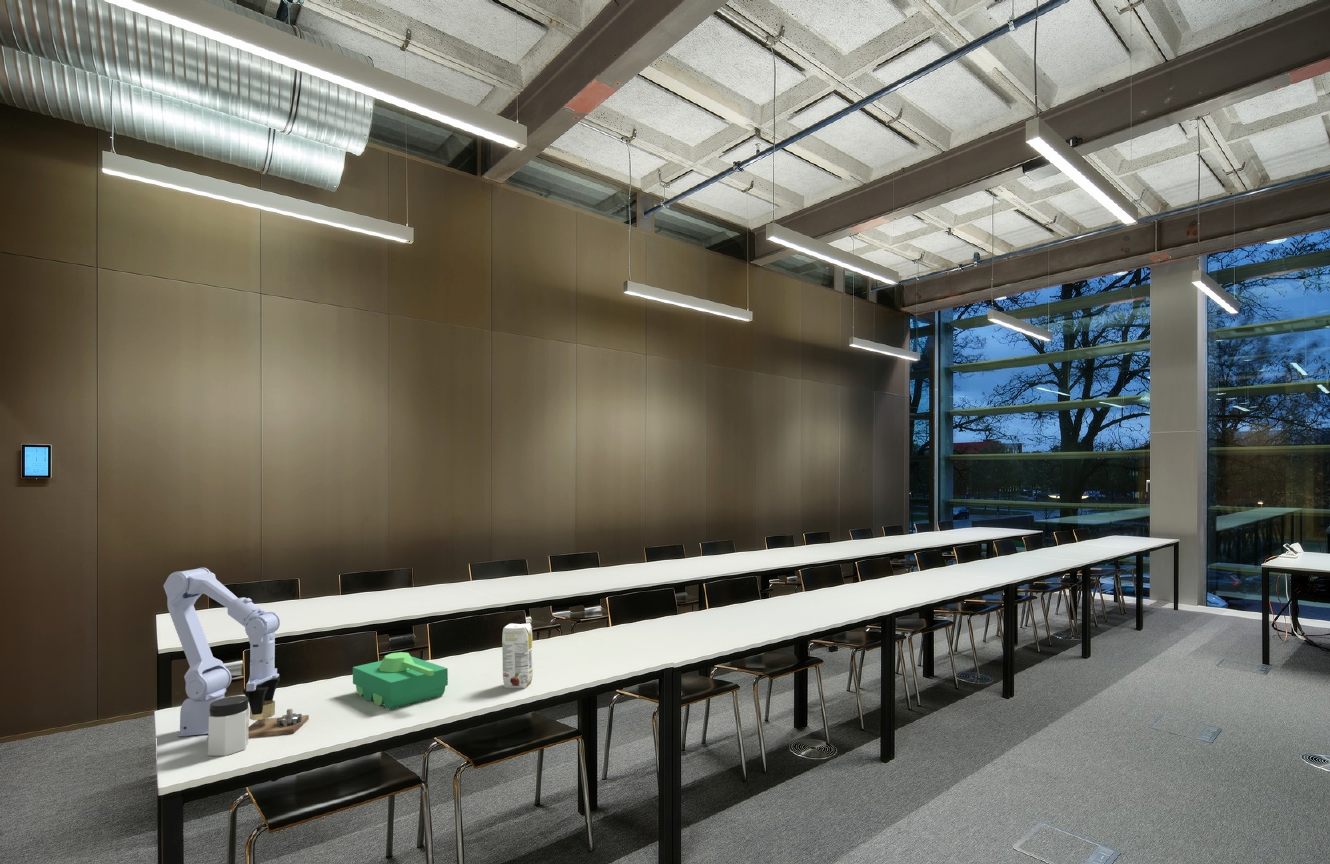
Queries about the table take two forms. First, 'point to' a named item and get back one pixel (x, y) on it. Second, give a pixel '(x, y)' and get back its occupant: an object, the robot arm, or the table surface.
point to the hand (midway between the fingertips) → (261, 710)
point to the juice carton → (517, 655)
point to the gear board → (274, 726)
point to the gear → (289, 720)
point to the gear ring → (265, 710)
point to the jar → (228, 726)
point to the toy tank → (400, 680)
